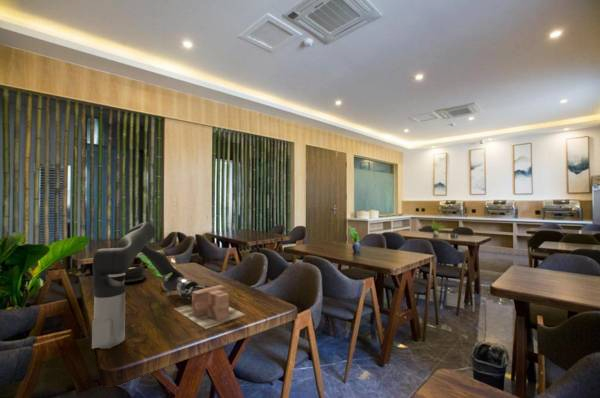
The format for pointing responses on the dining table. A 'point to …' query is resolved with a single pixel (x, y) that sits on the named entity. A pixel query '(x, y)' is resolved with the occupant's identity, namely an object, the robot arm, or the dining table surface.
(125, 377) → the dining table surface
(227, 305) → the T block
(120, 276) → the coffee mug
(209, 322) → the board
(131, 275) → the casserole
